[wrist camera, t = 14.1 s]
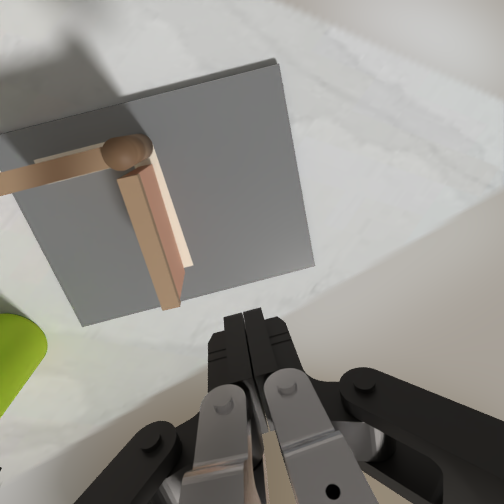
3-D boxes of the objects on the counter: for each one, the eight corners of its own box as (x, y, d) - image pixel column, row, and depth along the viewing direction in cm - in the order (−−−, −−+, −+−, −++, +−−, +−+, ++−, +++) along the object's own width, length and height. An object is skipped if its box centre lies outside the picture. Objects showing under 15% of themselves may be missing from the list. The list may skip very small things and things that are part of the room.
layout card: (84, 324, 29) (82, 327, 29) (-13, 138, 23) (-17, 138, 23) (313, 264, 29) (315, 266, 29) (277, 64, 23) (279, 63, 23)
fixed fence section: (44, 184, 24) (-7, 203, 19) (32, 160, 24) (-24, 172, 18) (156, 156, 24) (140, 166, 19) (148, 130, 24) (128, 133, 18)
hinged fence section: (137, 166, 24) (116, 179, 19) (153, 163, 24) (137, 175, 19) (172, 275, 28) (162, 310, 22) (186, 271, 28) (180, 306, 22)
